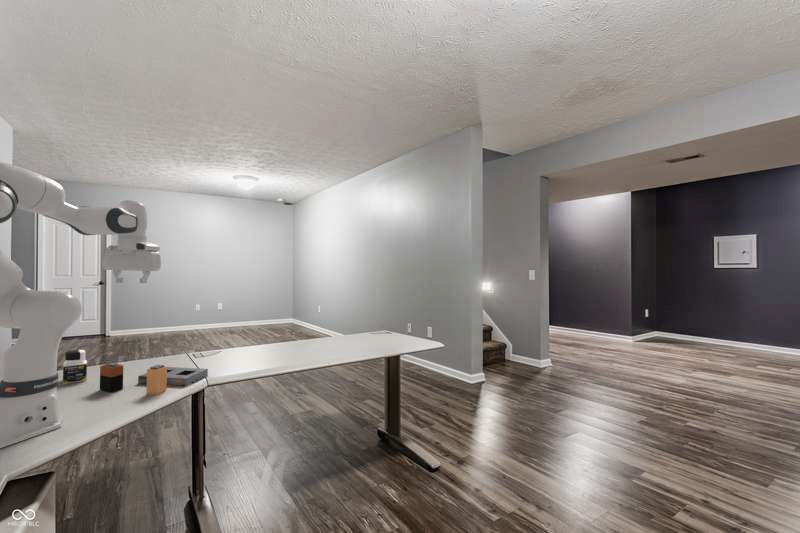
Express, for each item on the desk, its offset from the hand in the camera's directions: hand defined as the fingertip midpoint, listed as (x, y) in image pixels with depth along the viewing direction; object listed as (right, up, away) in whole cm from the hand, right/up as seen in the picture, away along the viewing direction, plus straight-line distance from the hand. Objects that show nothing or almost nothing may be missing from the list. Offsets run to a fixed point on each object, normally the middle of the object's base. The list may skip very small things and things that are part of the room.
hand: (131, 283), depth 138 cm
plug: (+10, -40, 0) cm, 42 cm away
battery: (-8, -40, +1) cm, 41 cm away
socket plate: (+7, -40, +15) cm, 44 cm away
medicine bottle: (-31, -40, +11) cm, 51 cm away
